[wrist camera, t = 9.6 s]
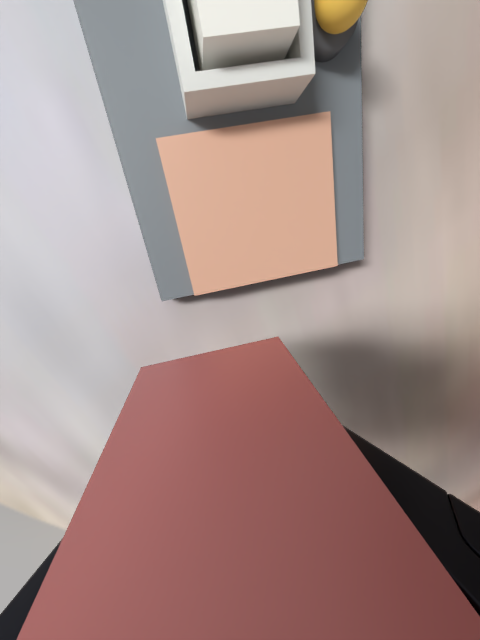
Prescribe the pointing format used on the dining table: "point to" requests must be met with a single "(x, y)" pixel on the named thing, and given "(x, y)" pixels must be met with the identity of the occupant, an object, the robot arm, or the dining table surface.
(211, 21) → the block
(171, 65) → the panel
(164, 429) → the red rectangular block
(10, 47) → the dining table surface
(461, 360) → the dining table surface
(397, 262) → the dining table surface
